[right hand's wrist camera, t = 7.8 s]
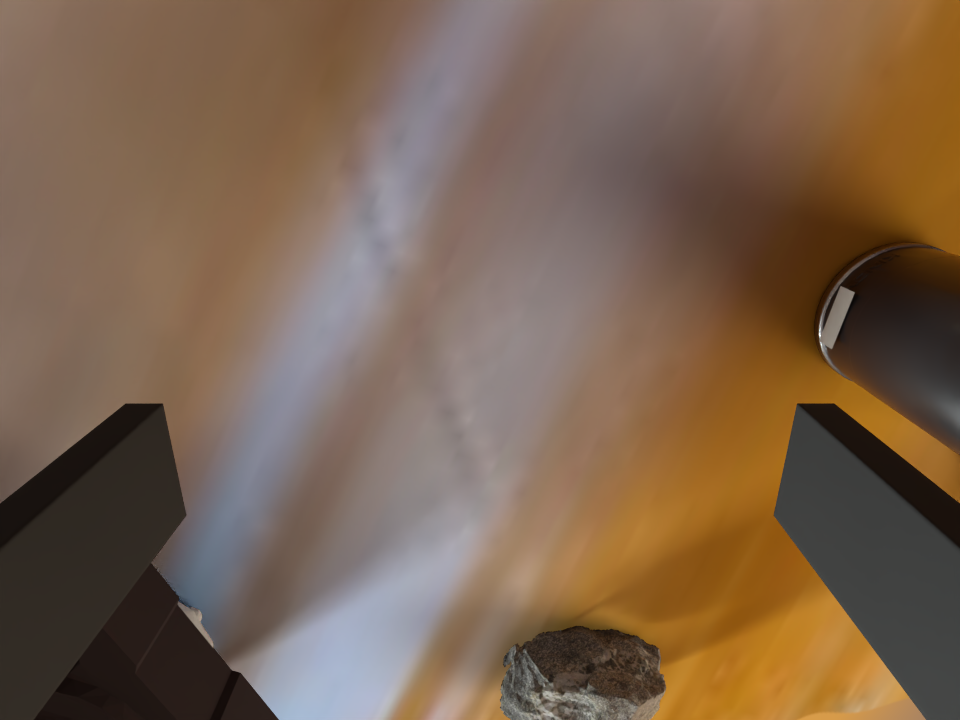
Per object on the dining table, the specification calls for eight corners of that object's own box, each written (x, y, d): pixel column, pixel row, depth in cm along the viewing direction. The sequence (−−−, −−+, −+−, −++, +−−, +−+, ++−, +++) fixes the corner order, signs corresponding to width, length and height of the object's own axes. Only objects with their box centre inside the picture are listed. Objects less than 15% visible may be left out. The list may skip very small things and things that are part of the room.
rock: (510, 712, 52) (515, 789, 46) (482, 636, 49) (483, 708, 43) (665, 678, 51) (691, 752, 45) (646, 598, 48) (671, 666, 42)
